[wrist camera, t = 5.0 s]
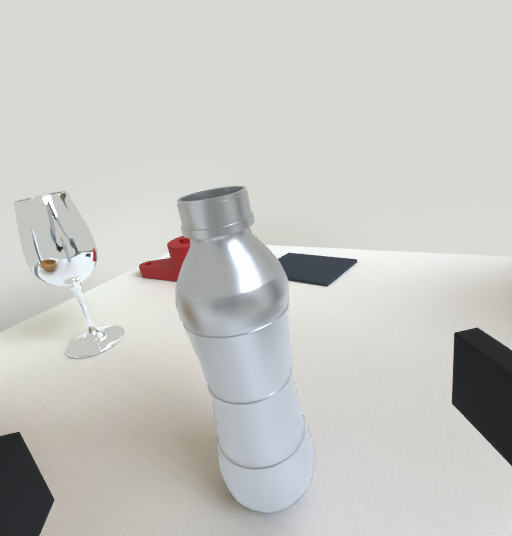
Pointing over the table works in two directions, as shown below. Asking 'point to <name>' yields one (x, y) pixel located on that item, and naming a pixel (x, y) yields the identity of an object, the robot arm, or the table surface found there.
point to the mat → (314, 268)
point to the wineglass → (63, 259)
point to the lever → (167, 262)
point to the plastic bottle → (244, 350)
